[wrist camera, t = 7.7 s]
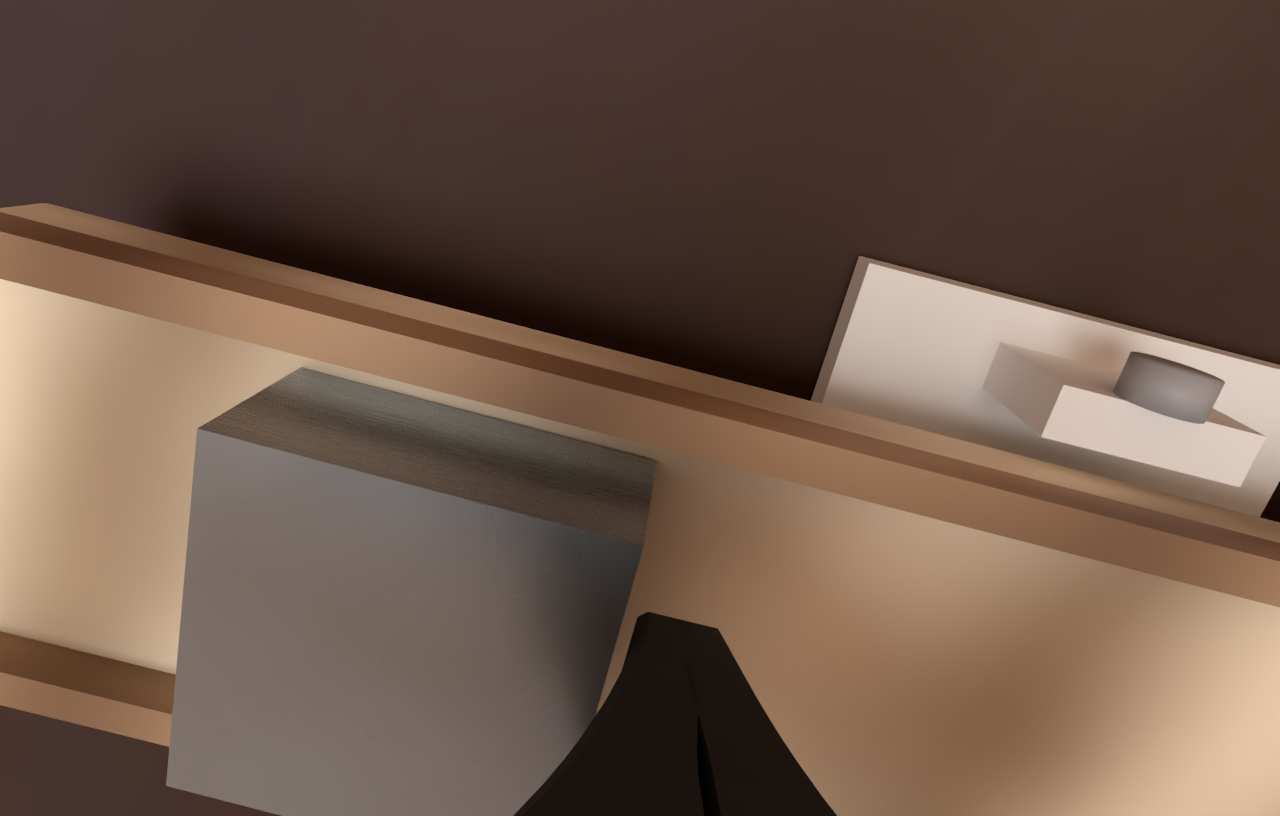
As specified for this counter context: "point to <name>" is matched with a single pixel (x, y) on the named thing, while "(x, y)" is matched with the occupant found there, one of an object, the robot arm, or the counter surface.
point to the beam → (655, 538)
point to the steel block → (394, 602)
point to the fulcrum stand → (1055, 386)
